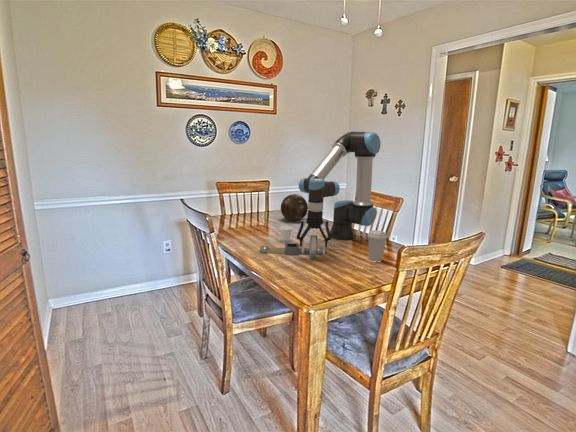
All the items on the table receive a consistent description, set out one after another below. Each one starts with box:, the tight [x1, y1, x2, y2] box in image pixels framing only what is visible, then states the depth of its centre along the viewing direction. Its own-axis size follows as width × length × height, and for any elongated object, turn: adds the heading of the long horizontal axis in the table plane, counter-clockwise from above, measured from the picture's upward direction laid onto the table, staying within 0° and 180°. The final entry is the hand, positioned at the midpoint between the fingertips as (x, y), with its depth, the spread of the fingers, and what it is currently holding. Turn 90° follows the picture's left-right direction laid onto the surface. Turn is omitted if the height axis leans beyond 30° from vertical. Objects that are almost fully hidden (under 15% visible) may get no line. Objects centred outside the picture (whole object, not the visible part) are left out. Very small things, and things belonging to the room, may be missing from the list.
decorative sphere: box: [280, 193, 308, 222], centre depth 246 cm, size 20×20×20 cm
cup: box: [274, 226, 293, 243], centre depth 198 cm, size 7×10×8 cm
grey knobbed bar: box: [259, 242, 324, 256], centre depth 179 cm, size 34×7×4 cm, turn 91°
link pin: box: [308, 234, 318, 260], centre depth 170 cm, size 4×4×12 cm
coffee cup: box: [367, 229, 388, 262], centre depth 170 cm, size 10×10×15 cm
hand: (313, 252), depth 171 cm, fingers open, 10 cm apart
